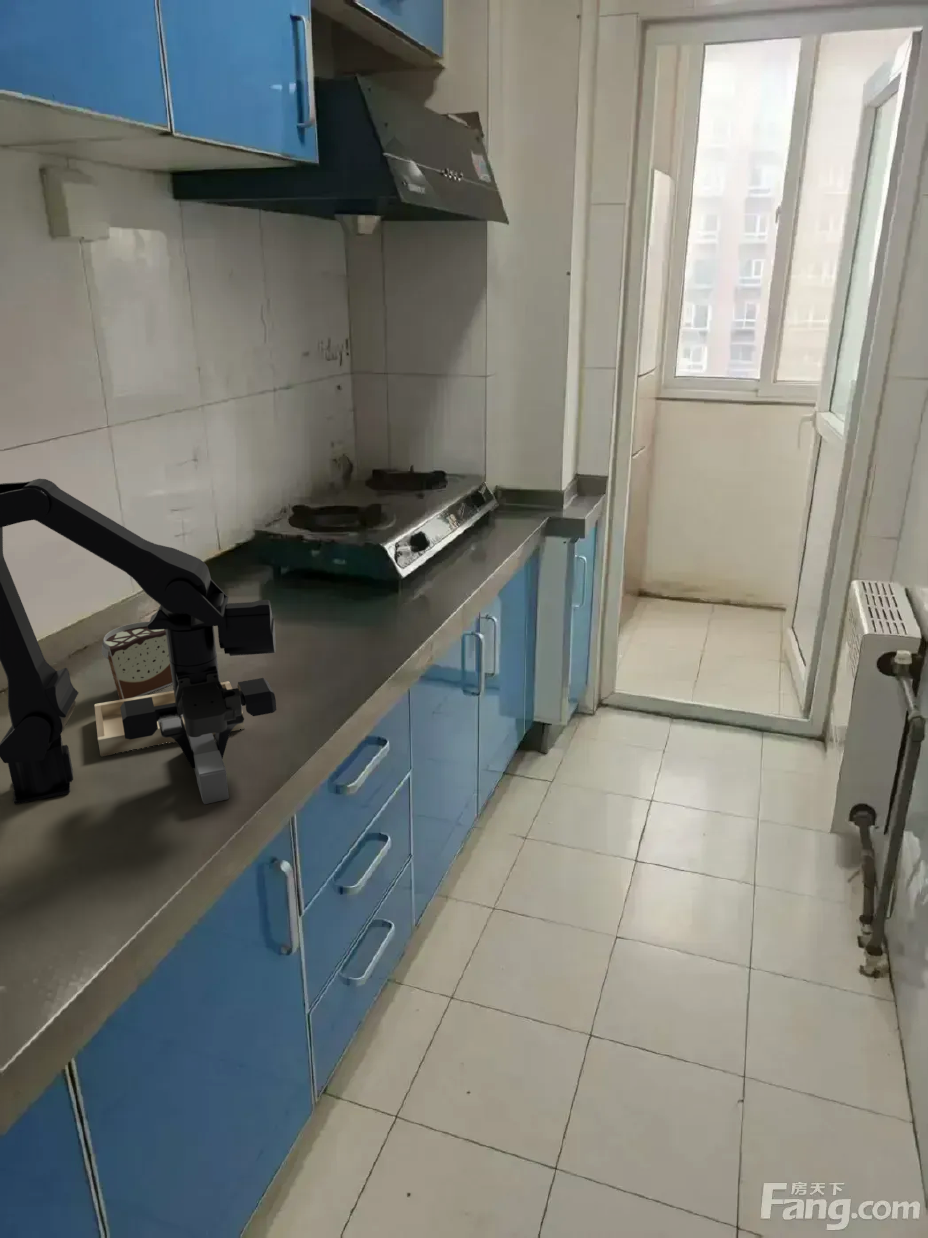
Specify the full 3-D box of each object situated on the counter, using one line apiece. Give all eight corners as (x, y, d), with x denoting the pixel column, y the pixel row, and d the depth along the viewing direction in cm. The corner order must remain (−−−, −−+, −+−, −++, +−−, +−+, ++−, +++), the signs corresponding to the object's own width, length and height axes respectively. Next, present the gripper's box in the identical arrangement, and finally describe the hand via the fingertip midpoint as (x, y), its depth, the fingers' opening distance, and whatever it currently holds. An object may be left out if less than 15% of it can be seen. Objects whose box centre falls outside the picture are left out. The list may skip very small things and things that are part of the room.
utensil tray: (100, 756, 117) (97, 739, 116) (97, 719, 127) (94, 704, 126) (244, 728, 125) (243, 713, 124) (230, 696, 135) (229, 681, 134)
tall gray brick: (229, 798, 108) (226, 770, 106) (203, 804, 107) (199, 776, 105) (211, 744, 121) (207, 718, 119) (187, 748, 119) (184, 722, 118)
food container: (163, 669, 144) (155, 614, 140) (184, 679, 140) (177, 623, 137) (94, 694, 135) (84, 636, 131) (114, 706, 131) (105, 646, 128)
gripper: (118, 696, 97) (136, 813, 103) (281, 669, 104) (290, 779, 110) (112, 659, 106) (130, 768, 112) (262, 636, 114) (271, 739, 119)
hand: (206, 764), depth 113 cm, fingers closed on tall gray brick, 3 cm apart
